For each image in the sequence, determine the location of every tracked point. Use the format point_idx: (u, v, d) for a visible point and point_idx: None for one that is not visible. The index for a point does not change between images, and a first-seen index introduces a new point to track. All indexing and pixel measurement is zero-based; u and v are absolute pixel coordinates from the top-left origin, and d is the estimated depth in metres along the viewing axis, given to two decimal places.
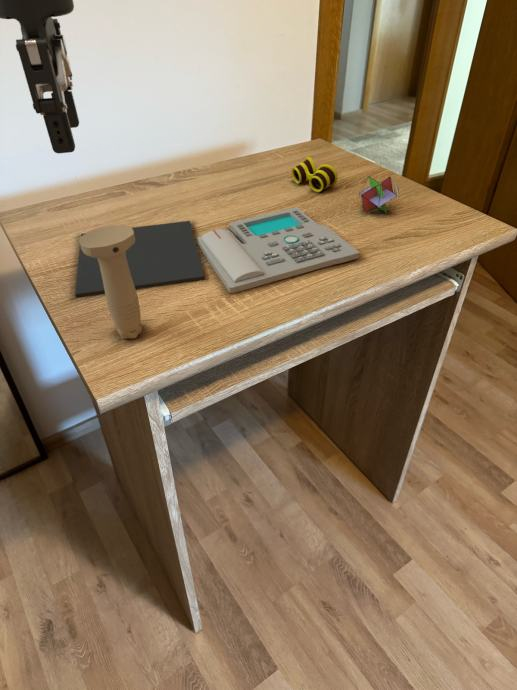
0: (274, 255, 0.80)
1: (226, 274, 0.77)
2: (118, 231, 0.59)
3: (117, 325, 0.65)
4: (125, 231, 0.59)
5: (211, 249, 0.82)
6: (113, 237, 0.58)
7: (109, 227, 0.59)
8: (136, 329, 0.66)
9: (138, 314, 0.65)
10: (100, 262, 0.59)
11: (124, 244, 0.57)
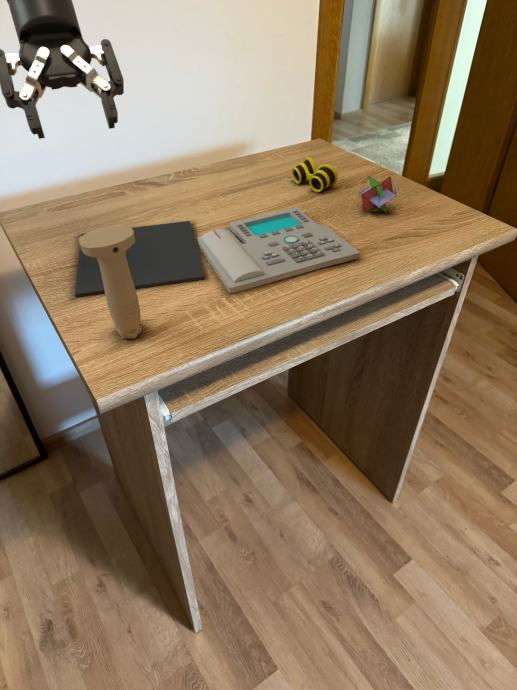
0: (274, 255, 0.80)
1: (226, 274, 0.77)
2: (118, 231, 0.59)
3: (117, 325, 0.65)
4: (125, 231, 0.59)
5: (211, 249, 0.82)
6: (112, 237, 0.58)
7: (108, 227, 0.59)
8: (136, 329, 0.66)
9: (138, 314, 0.65)
10: (100, 262, 0.59)
11: (124, 244, 0.57)
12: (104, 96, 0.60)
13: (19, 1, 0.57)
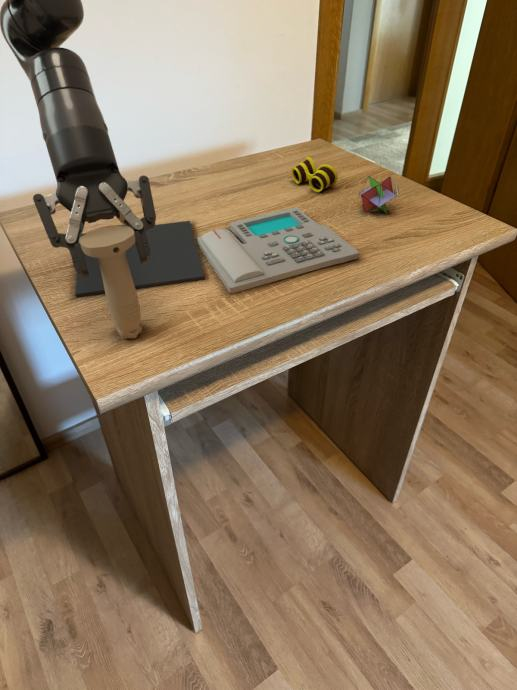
0: (274, 255, 0.80)
1: (226, 274, 0.77)
2: (118, 231, 0.59)
3: (117, 325, 0.65)
4: (125, 231, 0.59)
5: (211, 249, 0.82)
6: (113, 237, 0.58)
7: (109, 227, 0.59)
8: (136, 329, 0.66)
9: (138, 314, 0.65)
10: (100, 262, 0.59)
11: (125, 244, 0.57)
12: (137, 235, 0.59)
13: (57, 143, 0.56)
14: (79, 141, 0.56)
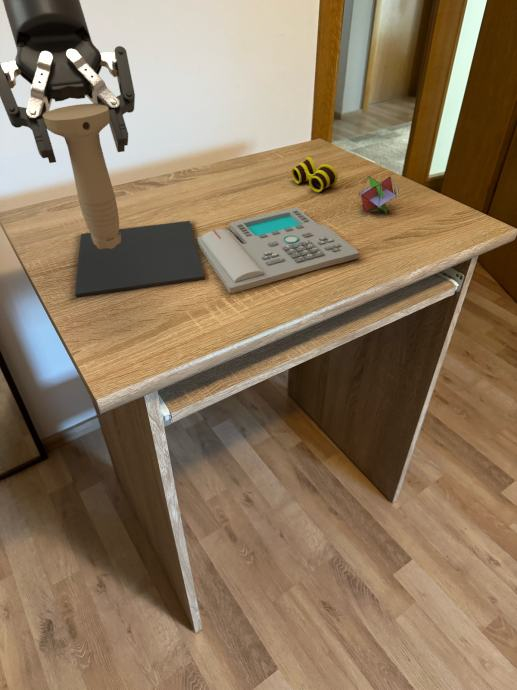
0: (274, 255, 0.80)
1: (226, 274, 0.77)
2: (90, 108, 0.50)
3: (91, 230, 0.56)
4: (98, 108, 0.50)
5: (211, 249, 0.82)
6: (83, 112, 0.49)
7: (79, 105, 0.51)
8: (114, 237, 0.57)
9: (116, 218, 0.56)
10: (69, 145, 0.50)
11: (97, 121, 0.49)
12: (112, 114, 0.50)
13: None
14: None
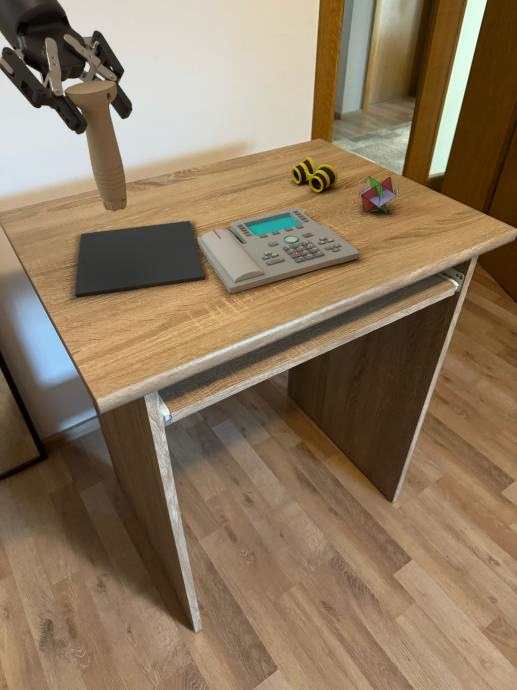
0: (274, 255, 0.80)
1: (226, 274, 0.77)
2: (97, 83, 0.58)
3: (109, 194, 0.64)
4: (104, 82, 0.58)
5: (211, 249, 0.82)
6: (98, 86, 0.57)
7: (83, 83, 0.58)
8: (125, 198, 0.66)
9: None
10: (90, 116, 0.58)
11: (113, 91, 0.57)
12: None
13: None
14: None
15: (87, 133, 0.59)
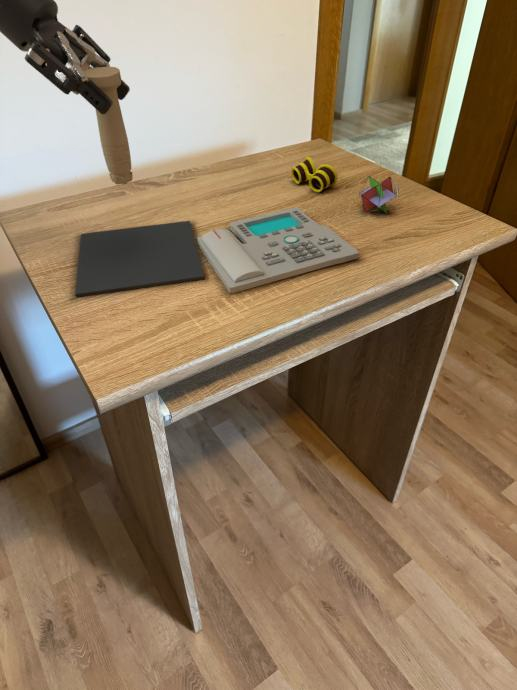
0: (274, 255, 0.80)
1: (226, 274, 0.77)
2: (101, 69, 0.66)
3: (122, 168, 0.72)
4: (105, 68, 0.67)
5: (211, 249, 0.82)
6: (106, 71, 0.66)
7: (87, 70, 0.66)
8: None
9: None
10: None
11: None
12: None
13: None
14: None
15: (102, 114, 0.67)
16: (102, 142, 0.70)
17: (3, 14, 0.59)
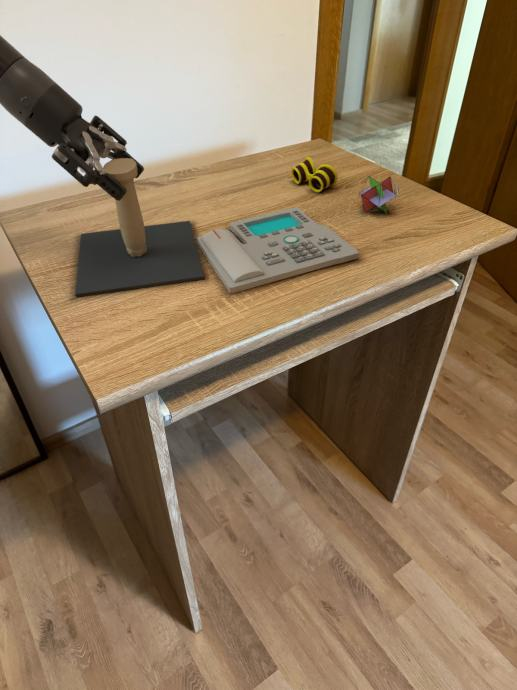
0: (274, 255, 0.80)
1: (226, 274, 0.77)
2: (119, 162, 0.75)
3: (137, 244, 0.80)
4: (123, 160, 0.75)
5: (211, 249, 0.82)
6: (124, 164, 0.74)
7: (108, 163, 0.74)
8: (144, 244, 0.83)
9: None
10: None
11: (136, 165, 0.75)
12: (128, 155, 0.76)
13: (50, 101, 0.66)
14: (65, 95, 0.68)
15: (120, 201, 0.75)
16: (120, 223, 0.78)
17: (36, 121, 0.67)
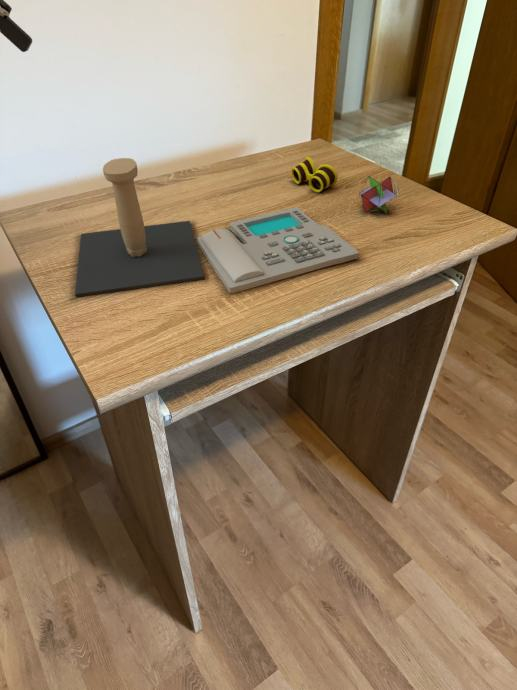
0: (274, 255, 0.80)
1: (226, 274, 0.77)
2: (119, 162, 0.75)
3: (137, 244, 0.80)
4: (123, 160, 0.75)
5: (211, 249, 0.82)
6: (124, 164, 0.74)
7: (108, 163, 0.74)
8: (144, 244, 0.83)
9: None
10: (125, 188, 0.74)
11: (136, 165, 0.75)
12: (11, 20, 0.65)
13: None
14: None
15: (120, 201, 0.75)
16: (120, 223, 0.78)
17: None
